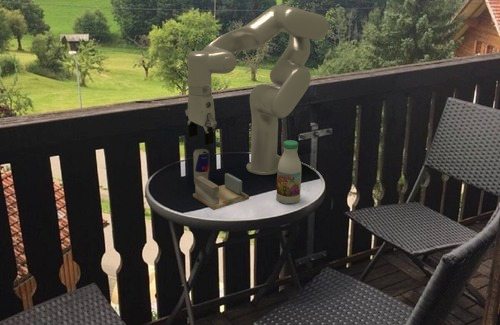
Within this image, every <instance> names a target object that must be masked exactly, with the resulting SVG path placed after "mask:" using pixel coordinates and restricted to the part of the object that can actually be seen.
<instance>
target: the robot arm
mask: <svg viewBox="0 0 500 325" xmlns="http://www.w3.org/2000/svg"><path fill="white" fill-rule="evenodd" d="M329 30H330V24H329V21H328V19H327V18H326V17H325V16H324V15H322V14H319V13H316V12H311V11H307V10H304V9H300V8H297V7H293V6H289V5H283V4H275V5H272V6H271V7H269V8H268V9H266V10H265V11H264V12H262V13H261V14H260V15H258V16H257V17H256V18H254V19H253V20H251V21H250V22H248V23H247V24H246V25H243V26H241V27H238V28H236V29H234V30H231V31H228V32H227V33H224V34H222V35H220V36H219V37H217V38H215V39H214V40H212V42H210V43H208V44H207V45H206V46H205V47H204V48H203V49H202V50H192V51H190V52H189V53H188V54H187V61H186V62H187V92H188V97H187V109H185V111H184V112H185V118H186V120H187V126H188V128H187V129H188V137H190V138H192V137H195V136H198V126H201V127H203V129H204V131H205V132H204V136H203V137H204V145H205V146H207V145H211V144H214V143H215V142H214V139H215V138H214V133H215V132H216V131H215V130H217V129H216V128H217V125H218V122H217V120H216V114H215V113H216V112H215V102H214V97H213V94H212V90H213V89H212V74H213V75H214V74H219V75H225V74H226V75H227V74H229V73H230V74H231V73H232V72H233V71H234V70H235V69H236V67H237V60H238V59H237V57H236V56H235V53H237V52H240V51H250V50H254V49H259V48H261V47H262V46H263V45H265V44H266V43H267V42H269V41H270V40H271V39H273V38H274V37H276V36H277V35H278V34H280V33H281V32H283V33H286V34H288V36H289V40H288V44H287V46H286V48H285V50H284V51H283V53H282V54H281V56H280V57H279V58H278V60H277V61H276V62H275V64H274V65H273V67H272V69H271V70H270V73H269V79H270V82H272V83H273V84H274V85H275V86H277V87H274V86H273V85H270V84H264V83H261V84H257V85H256V86H254V87H253V89H252V90H251V92H250V93H249V94H250V95H249V106H250V107H249V108H250V113H251V135H250V136H251V138H250V142H251V143H250V148H251V149H250V161H249V162H248V163H247V164H246V170H247V171H248V172H249V173H251V174H254V175H260V176H270V175H275V174H277V172H278V164H279V161H280V159H281V157H282V155H279V154H278V136H279V135H278V134H279V119H283V118H286V117H287V116H289V115H290V114H291V113H292V111H293V110H294V109H295V107H296V106H297V105H298V103H299V102H300V101H301V99H302V98H303V96H304V95H305V93H306V92H307V90H308V89H309V86H310V83H311V78H312V76H311V71H310V70H309V69H308V68H307V66H305V65H306V63H307V60H308V59H309V57H310V54H311V41H310V40H314V41H320V40H322V39H323V38H325V37H326V36H327V35H328V33H329ZM278 87H279V88H278Z"/></svg>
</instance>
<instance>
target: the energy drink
mask: <svg viewBox="0 0 500 325" xmlns="http://www.w3.org/2000/svg"><path fill="white" fill-rule="evenodd" d="M192 160H193V184H194V185H195V178H196V177H200V176H202V177H204V178H206V179H208V180H209V181H210V152H209V149H205V148H198V149H194V151H193V158H192Z"/></svg>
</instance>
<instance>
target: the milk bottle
mask: <svg viewBox="0 0 500 325" xmlns="http://www.w3.org/2000/svg"><path fill="white" fill-rule="evenodd" d="M298 149H299V142H298V141H296V140H292V139H289V140H288V139H287V140H284V141H283V153H282V155H281V156H282V157H281V159H280V161H279V164H278V172H277V173H276V174H277V175H276V196H275V198H276V200H277V201H278V203H281V202H282V204H284V203H294V204H297V203H298V202H299V201H300V200H301V188H302V187H301V186H302V162H301V159H300V157H299V155H298ZM296 202H297V203H296Z"/></svg>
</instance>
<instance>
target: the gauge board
mask: <svg viewBox="0 0 500 325" xmlns="http://www.w3.org/2000/svg"><path fill="white" fill-rule="evenodd" d="M194 185H195V186H194V188H195V193H192V197H193V198H194V199H196V200H197V201H199V202H201V203H202V204H204V205H205V206H207V207H208V208H210V209H212V210H214V211H215V210H219V209H221V208H224V207H227V206H231V205H233V204H237V203H239V202H243V201H246V200H249V199H250V195H248V194H246V193H245V192H243V191H242V194H244V195H246V197H244V196H242V195H240V194H238V193H236V192H234V191H232V190H231V189H229V188H227V187H225V184H222V185H217V184H216V183H215V182H213V181H211V180H210V179H209V180H208V179H206V178H204V177H202V176H200V177H196V178H195V184H194Z"/></svg>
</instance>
